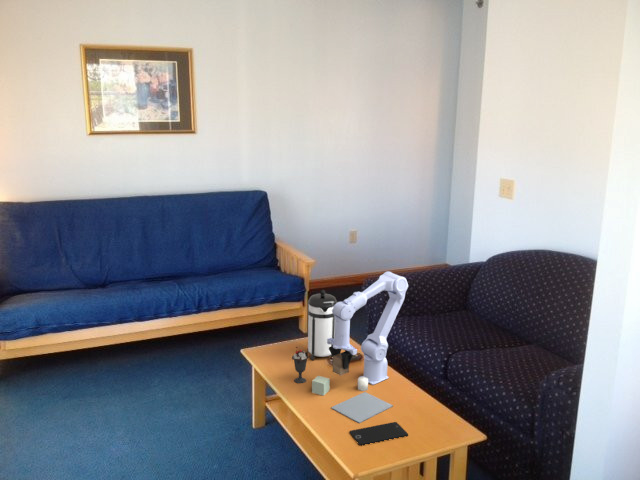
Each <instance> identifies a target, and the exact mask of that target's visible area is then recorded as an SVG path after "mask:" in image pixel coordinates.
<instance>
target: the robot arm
mask: <svg viewBox="0 0 640 480" xmlns="http://www.w3.org/2000/svg"><path fill="white" fill-rule="evenodd" d="M408 288H409V284H408V281H407V278H406V277H405V276H401V275H398V274H396V273H393V272H392V271H385V272H384V273H383V274H381V275H379V278H378V279H377V280H376V281H374V282H373V283H372V284H371V285H369V286H368V287H367V288H366V289H364V290H363V291H354V292H353V293H352V295H350V296H349V297H348V298H345V299H344V300H343V301H337V303H336V304H335V305H334V307H333V309H332V313H333V314H334V316H335V318H334V319H335V339H332V338H329V339H327V344H331V347H329V350H330V352H331V354H332V357H333V356H334V355H337V354H340V353H341V356H342V359H343V369H347V368H348V367H349V368H350V363H351V361H352V358H353V356H355V355H357V354H358V349H357V348H355V347H354V346H353V345H352V344H351V343H350V335H351V334H350V329H351V328H350V327H351V319H352V317H353V316H354V314H355V313H356V311H358V310H359V309H361V308H362V307H364V306H366V305H367V302H368V300H369V299H371V298H372V297H374V296H376V295H377V294H379V293H381V292H383V291H387V294H388V297H389V299H388V300H387V303H386V304H385V307H384V308H383V311H382V314H381V316H380V318H379V320H378V322H377V325H376V326H375V329H374V331H373V332H372V333H370V334H368V335H367V336H366V339H364V340H363V342H362V343H361V346H360V350H361V353H363V358H364V359H363V360H364V361H363V375H360V376H359V377H366V378H368V384H370V385H372V386H374V385H376V384H379V383H380V382H383V381H385V380H387V379H389V377H390V376H388V360H387V357H386V356H387V351H388V348H389V343H388V341H387V338H388V335H389V333H390V331H391V329H392V327H393V325H394V322H395V321H396V318H397V316H398V314H399V311H400V309H401V308H402V305H403V303H404V301H405V297H406V292H407V290H408ZM342 350H343V352H342Z"/></svg>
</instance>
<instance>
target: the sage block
mask: <svg viewBox="0 0 640 480" xmlns="http://www.w3.org/2000/svg"><path fill="white" fill-rule="evenodd" d="M330 379H331V378H329V377H325V376H320V375H317V376H315V378H314V379H312V380H311V393H312V394H314V395H320V396H325V395H326V394H327V393H328V392H329V391H330V385H331V384H330Z"/></svg>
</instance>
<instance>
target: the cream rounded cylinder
mask: <svg viewBox="0 0 640 480" xmlns="http://www.w3.org/2000/svg"><path fill="white" fill-rule="evenodd" d="M357 390H358V391H361V392H366V391H368V390H369V383H368V378H366V377H360V376H359V377H357Z"/></svg>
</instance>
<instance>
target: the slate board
mask: <svg viewBox="0 0 640 480" xmlns="http://www.w3.org/2000/svg"><path fill="white" fill-rule="evenodd" d="M393 407H394V404H391V403H389V402H387V401H386V400H383V399H381V398H378V397H376V396H375V395H373V394H370V393H368V392H366V391H363V392H362V393H360V394H357V395H355V396H353V397H350V398H348V399H347V400H344V401H341V402H339V403H337V404H335V405H333V406H331V407H330V409H331V410H333V411H335V412H337V413H338V414H342V415H343V416H344V417H346V418H348V419H350V420H352V421H354V422H356V423H357V424H361V423H363V422H365V421H368V420H369V419H371V418H373V417H375V416H377V415H379V414H382V412H384V411H387V410H389V409H391V408H393Z"/></svg>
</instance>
